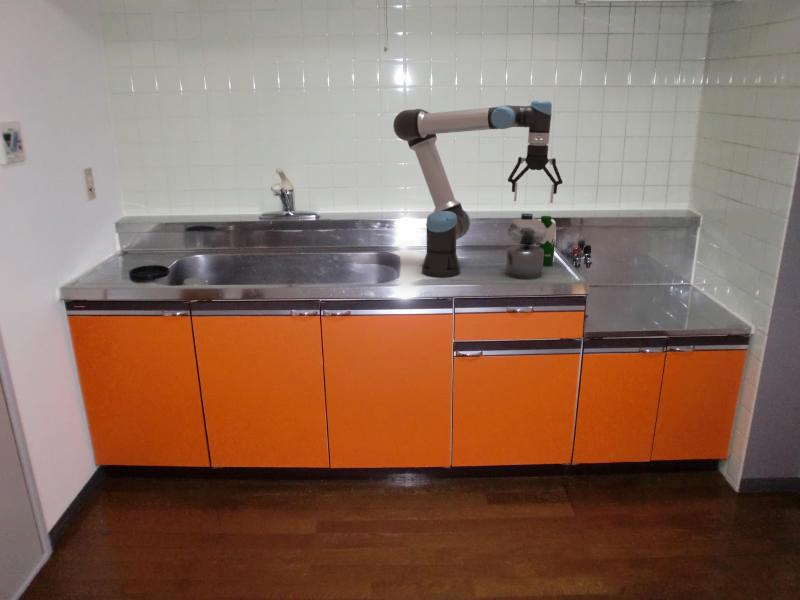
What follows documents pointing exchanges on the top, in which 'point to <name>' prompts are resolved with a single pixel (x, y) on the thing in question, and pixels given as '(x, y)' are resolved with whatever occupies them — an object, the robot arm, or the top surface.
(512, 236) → the cooker lid
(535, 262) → the cooker pot
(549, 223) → the milk carton
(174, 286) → the top surface
